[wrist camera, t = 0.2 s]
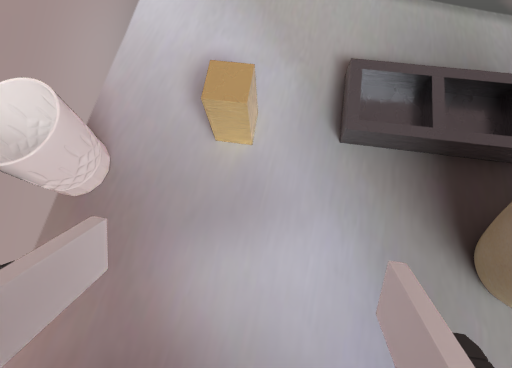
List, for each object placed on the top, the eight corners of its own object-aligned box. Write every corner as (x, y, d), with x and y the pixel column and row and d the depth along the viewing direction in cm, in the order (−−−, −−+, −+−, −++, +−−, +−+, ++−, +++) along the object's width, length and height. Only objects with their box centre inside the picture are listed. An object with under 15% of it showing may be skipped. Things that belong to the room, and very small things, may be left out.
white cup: (46, 210, 34) (-43, 178, 24) (41, 144, 36) (-41, 91, 27) (121, 190, 34) (63, 149, 24) (111, 125, 36) (55, 66, 27)
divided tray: (515, 163, 33) (538, 150, 30) (339, 142, 35) (346, 128, 32) (507, 92, 36) (528, 75, 33) (345, 76, 37) (351, 58, 34)
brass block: (252, 144, 35) (247, 103, 27) (215, 140, 35) (200, 98, 28) (257, 112, 36) (254, 64, 29) (222, 108, 37) (210, 59, 29)
